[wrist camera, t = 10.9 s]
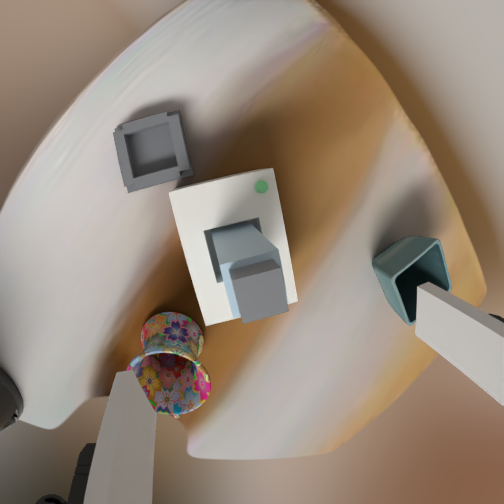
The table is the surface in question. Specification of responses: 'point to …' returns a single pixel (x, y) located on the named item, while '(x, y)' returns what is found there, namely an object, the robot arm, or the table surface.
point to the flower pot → (410, 272)
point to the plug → (250, 272)
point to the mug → (172, 364)
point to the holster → (152, 151)
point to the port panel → (221, 214)
